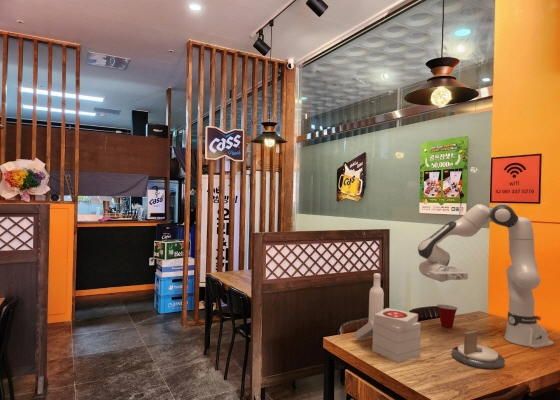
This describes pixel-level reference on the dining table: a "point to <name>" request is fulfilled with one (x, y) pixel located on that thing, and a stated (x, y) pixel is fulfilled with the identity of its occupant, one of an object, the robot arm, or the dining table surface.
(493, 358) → the dial
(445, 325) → the plastic cup
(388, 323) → the pizza boxes
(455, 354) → the dial housing
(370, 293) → the bottle
